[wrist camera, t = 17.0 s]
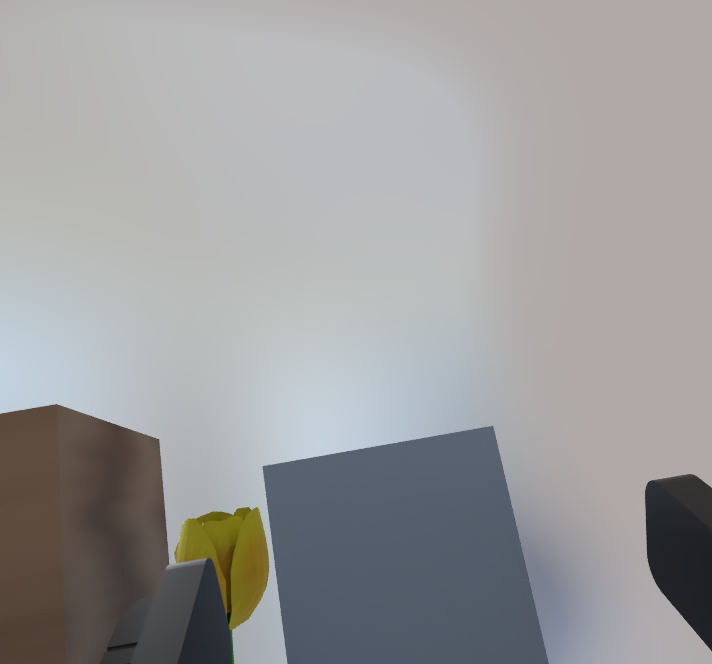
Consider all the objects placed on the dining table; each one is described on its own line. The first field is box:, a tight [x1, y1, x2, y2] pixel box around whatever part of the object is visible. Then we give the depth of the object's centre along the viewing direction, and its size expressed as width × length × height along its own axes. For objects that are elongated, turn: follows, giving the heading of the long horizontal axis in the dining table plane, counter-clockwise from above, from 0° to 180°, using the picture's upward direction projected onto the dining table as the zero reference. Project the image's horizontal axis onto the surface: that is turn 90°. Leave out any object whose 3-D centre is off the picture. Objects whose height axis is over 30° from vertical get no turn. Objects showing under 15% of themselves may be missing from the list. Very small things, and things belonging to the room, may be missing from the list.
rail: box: [263, 426, 549, 664], centre depth 22 cm, size 22×5×9 cm, turn 178°
